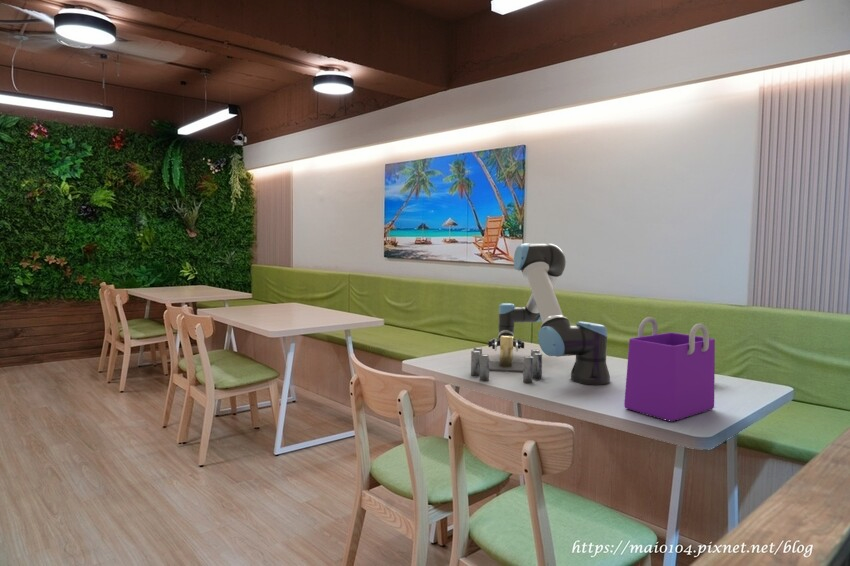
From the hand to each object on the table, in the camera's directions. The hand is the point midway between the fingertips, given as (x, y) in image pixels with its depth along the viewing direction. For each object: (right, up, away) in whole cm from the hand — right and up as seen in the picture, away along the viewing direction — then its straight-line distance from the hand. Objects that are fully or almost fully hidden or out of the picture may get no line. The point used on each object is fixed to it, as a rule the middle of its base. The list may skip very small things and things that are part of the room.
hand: (506, 348), depth 234 cm
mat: (+1, -9, +5) cm, 11 cm away
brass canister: (+1, -8, +5) cm, 10 cm away
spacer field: (-2, -10, -10) cm, 15 cm away
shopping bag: (+46, -14, -53) cm, 72 cm away
